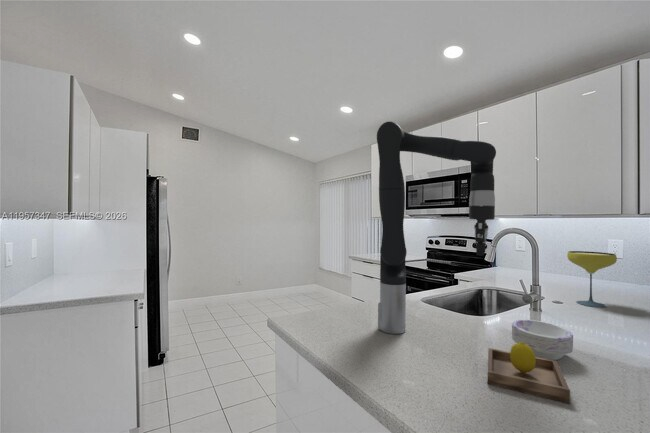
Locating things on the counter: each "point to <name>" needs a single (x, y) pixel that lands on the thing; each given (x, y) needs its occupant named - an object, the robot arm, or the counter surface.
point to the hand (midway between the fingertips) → (480, 254)
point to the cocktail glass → (591, 267)
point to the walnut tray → (528, 377)
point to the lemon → (522, 357)
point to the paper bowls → (543, 338)
